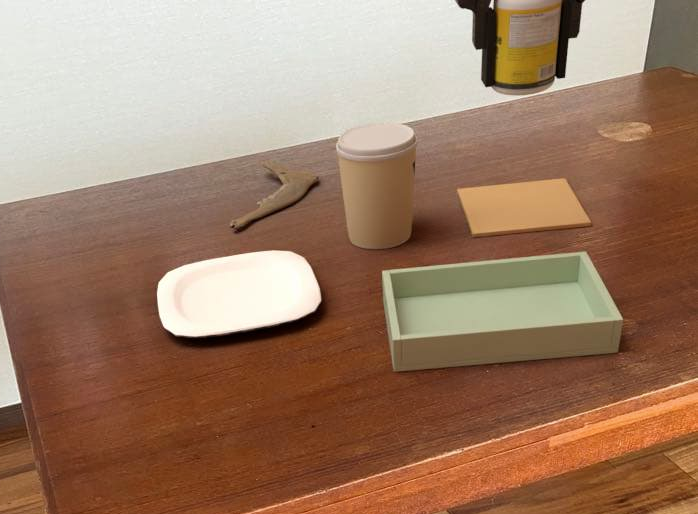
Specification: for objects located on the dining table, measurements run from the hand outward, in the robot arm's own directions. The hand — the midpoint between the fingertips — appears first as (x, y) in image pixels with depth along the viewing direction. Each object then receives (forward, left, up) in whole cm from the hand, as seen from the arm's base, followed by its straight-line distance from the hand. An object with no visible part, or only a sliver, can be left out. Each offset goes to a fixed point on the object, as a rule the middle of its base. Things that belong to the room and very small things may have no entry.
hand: (522, 78), depth 90 cm
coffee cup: (+15, -8, -19) cm, 25 cm away
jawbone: (+31, -23, -19) cm, 43 cm away
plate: (+32, +6, -19) cm, 37 cm away
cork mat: (-3, -12, -19) cm, 23 cm away
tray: (+5, +16, -19) cm, 25 cm away
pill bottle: (0, 0, -1) cm, 1 cm away
